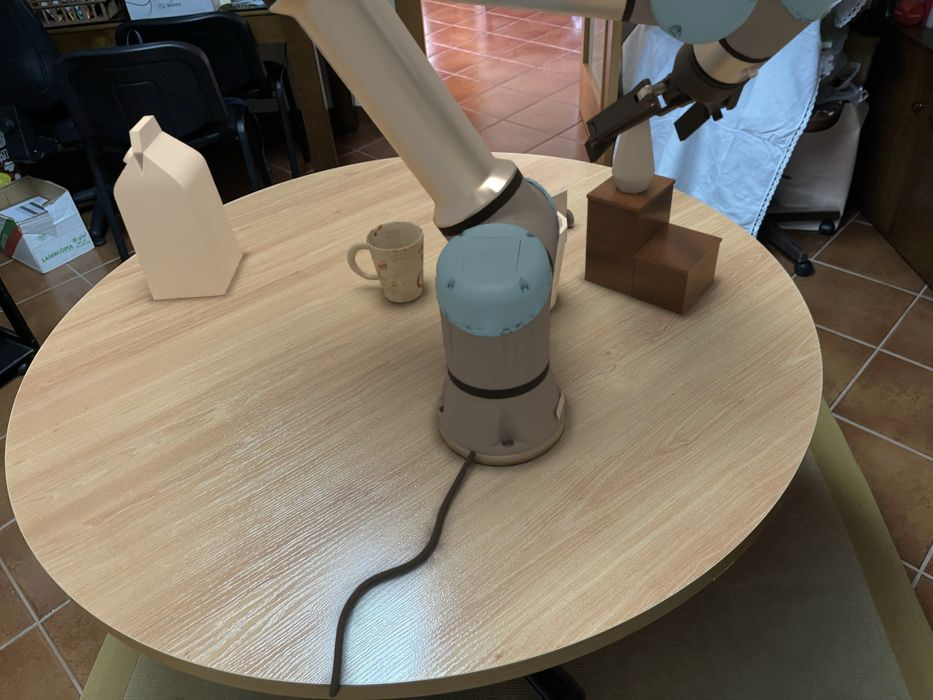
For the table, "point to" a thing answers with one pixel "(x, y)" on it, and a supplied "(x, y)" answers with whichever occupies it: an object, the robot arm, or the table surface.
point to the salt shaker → (634, 159)
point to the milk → (175, 216)
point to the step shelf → (646, 246)
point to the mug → (394, 259)
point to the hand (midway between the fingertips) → (635, 142)
